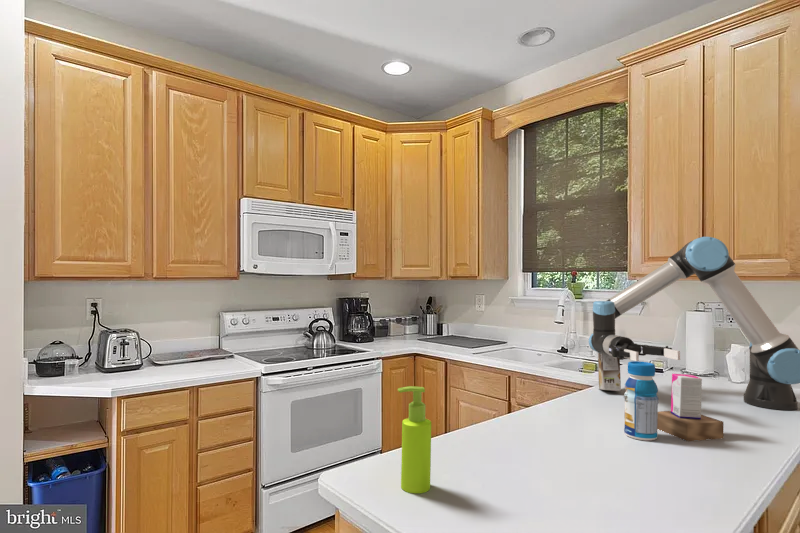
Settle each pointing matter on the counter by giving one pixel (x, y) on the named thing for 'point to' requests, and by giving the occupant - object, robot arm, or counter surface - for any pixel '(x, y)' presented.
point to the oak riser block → (690, 427)
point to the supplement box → (686, 396)
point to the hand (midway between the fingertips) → (658, 356)
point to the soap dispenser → (416, 445)
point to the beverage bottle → (641, 402)
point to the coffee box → (609, 372)
